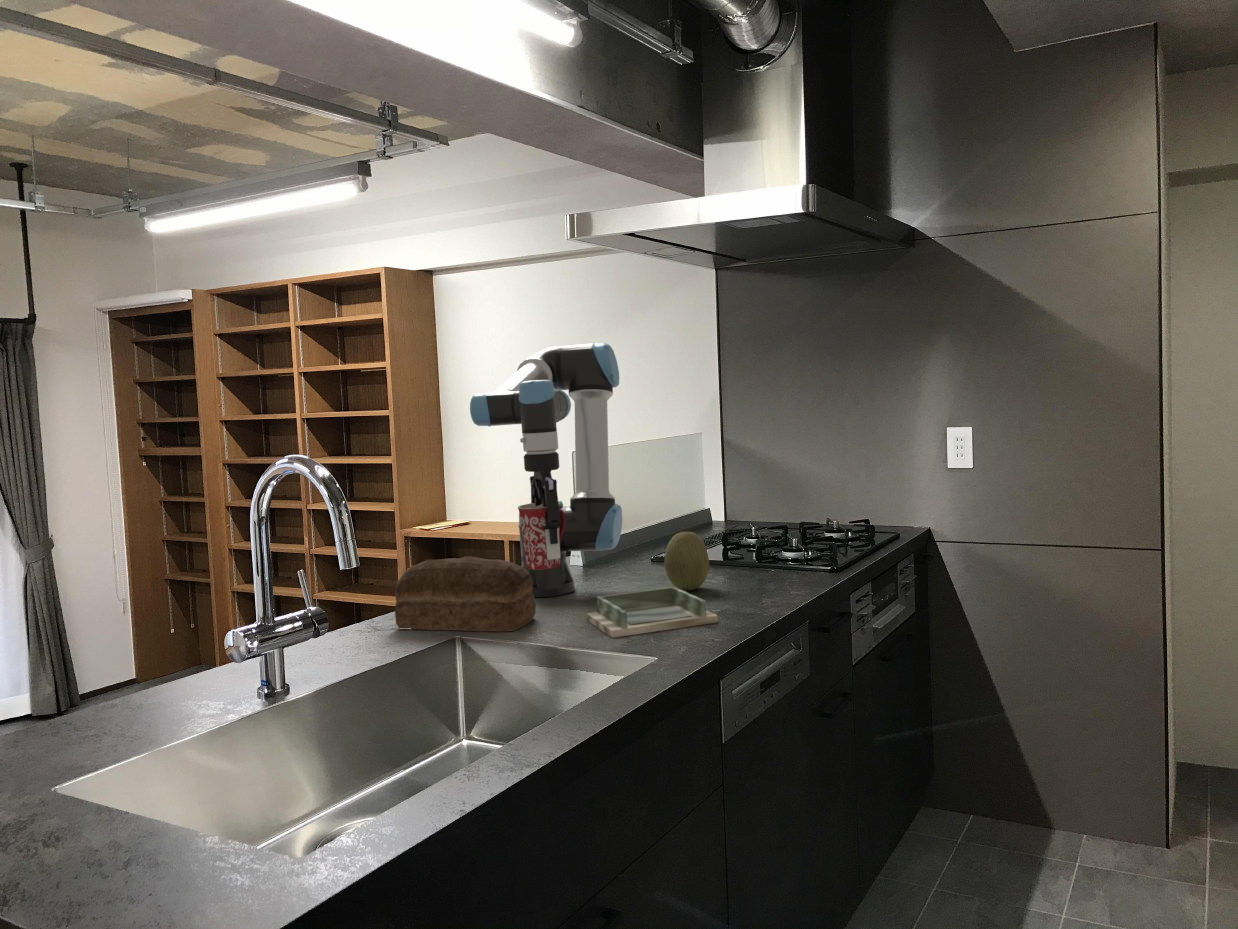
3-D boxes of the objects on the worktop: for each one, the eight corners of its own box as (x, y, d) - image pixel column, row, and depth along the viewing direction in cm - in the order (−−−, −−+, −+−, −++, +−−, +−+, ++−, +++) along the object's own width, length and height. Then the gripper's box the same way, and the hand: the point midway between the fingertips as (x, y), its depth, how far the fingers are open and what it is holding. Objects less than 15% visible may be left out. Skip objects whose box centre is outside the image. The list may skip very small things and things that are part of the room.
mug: (546, 571, 200) (542, 508, 199) (513, 569, 205) (509, 507, 204) (582, 560, 210) (578, 499, 209) (550, 558, 215) (546, 499, 214)
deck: (587, 620, 214) (585, 598, 214) (685, 606, 222) (684, 585, 221) (612, 637, 197) (610, 613, 197) (717, 622, 205) (716, 599, 204)
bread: (421, 616, 230) (416, 551, 228) (543, 618, 220) (538, 550, 219) (388, 631, 216) (383, 562, 215) (517, 634, 206) (512, 561, 205)
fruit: (658, 589, 244) (655, 531, 242) (697, 583, 248) (694, 526, 247) (678, 596, 233) (675, 536, 232) (719, 590, 237) (715, 531, 236)
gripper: (512, 451, 214) (520, 550, 216) (536, 456, 193) (543, 565, 195) (545, 448, 216) (552, 546, 218) (571, 452, 196) (578, 561, 198)
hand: (548, 555), depth 207 cm, fingers closed on mug, 9 cm apart
